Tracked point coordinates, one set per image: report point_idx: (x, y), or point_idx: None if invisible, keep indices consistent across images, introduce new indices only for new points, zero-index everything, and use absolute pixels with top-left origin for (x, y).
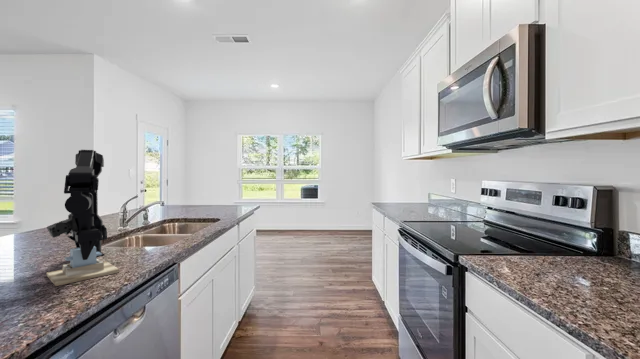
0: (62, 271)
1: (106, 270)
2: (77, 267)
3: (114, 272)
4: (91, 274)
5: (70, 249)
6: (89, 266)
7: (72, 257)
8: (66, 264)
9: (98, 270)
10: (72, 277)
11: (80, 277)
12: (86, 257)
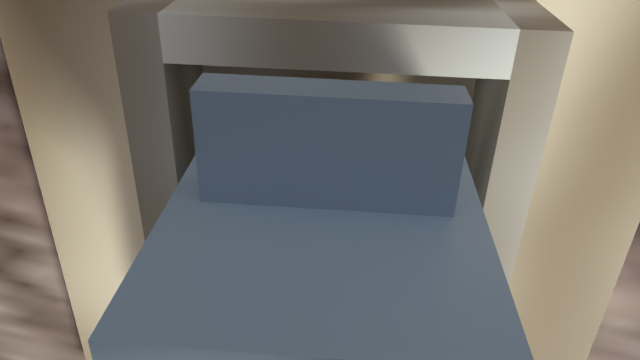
0: (575, 5)
1: None
2: (145, 150)
3: None
4: (76, 205)
5: (444, 355)
6: None
7: (226, 209)
8: (532, 88)
9: None
10: (88, 22)
11: (17, 91)
12: None
